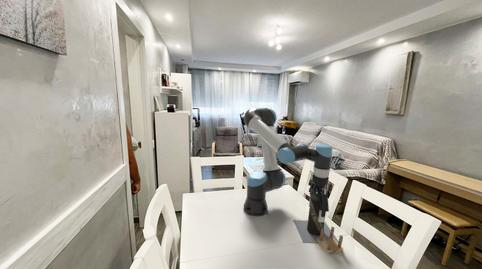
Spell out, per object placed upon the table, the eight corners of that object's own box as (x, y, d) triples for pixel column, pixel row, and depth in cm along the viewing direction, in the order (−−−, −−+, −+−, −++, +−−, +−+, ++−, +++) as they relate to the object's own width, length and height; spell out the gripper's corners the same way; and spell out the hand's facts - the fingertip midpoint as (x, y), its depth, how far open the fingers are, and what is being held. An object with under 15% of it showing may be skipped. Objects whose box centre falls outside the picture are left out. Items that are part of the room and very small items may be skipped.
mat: (303, 243, 94) (303, 242, 94) (293, 221, 112) (293, 220, 112) (340, 244, 94) (340, 243, 94) (324, 221, 112) (324, 221, 112)
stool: (327, 254, 88) (330, 240, 86) (317, 241, 95) (319, 228, 93) (342, 251, 90) (345, 237, 88) (331, 238, 97) (333, 225, 95)
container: (303, 231, 102) (307, 195, 99) (309, 223, 109) (313, 190, 106) (320, 238, 97) (325, 201, 94) (325, 230, 104) (330, 195, 100)
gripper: (340, 186, 86) (334, 229, 89) (318, 167, 110) (314, 201, 114) (323, 186, 85) (318, 229, 89) (305, 166, 110) (301, 201, 114)
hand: (316, 213), depth 102 cm, fingers open, 13 cm apart
